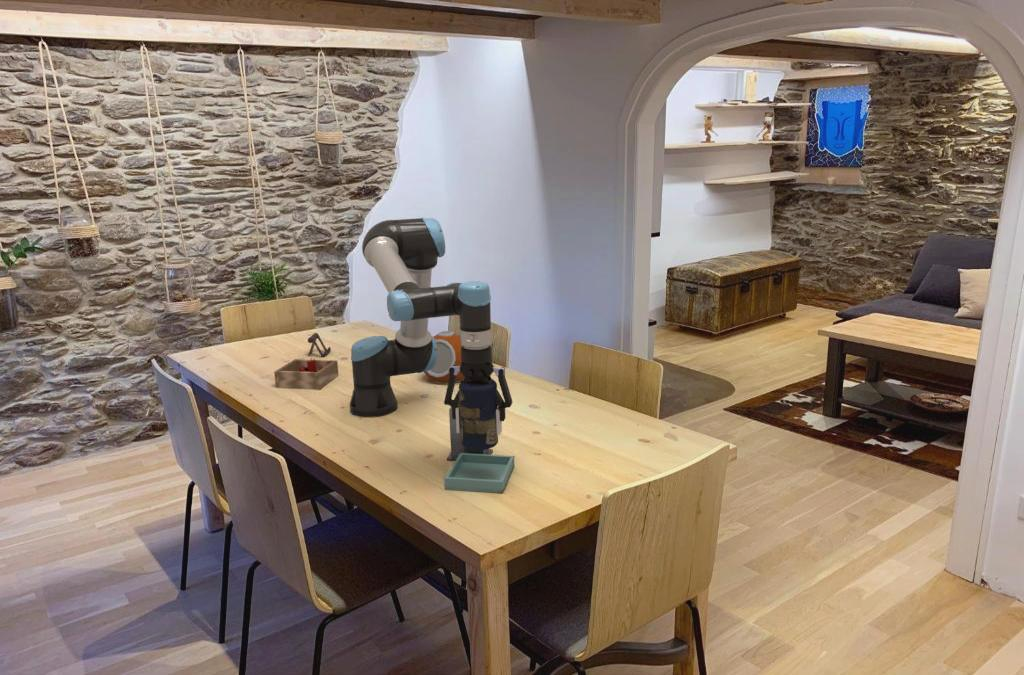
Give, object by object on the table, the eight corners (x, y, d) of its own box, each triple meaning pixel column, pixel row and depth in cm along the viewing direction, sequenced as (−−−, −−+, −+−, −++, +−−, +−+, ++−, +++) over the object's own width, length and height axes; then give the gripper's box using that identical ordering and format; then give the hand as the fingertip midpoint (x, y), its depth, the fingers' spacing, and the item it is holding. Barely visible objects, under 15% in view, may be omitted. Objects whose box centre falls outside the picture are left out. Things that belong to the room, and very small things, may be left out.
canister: (460, 439, 192) (457, 372, 187) (497, 437, 192) (495, 370, 188) (461, 454, 182) (458, 384, 178) (500, 451, 183) (498, 382, 179)
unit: (446, 460, 201) (444, 406, 197) (454, 449, 208) (452, 396, 204) (486, 463, 198) (484, 408, 195) (492, 451, 206) (491, 398, 202)
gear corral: (275, 387, 265) (274, 371, 264) (296, 374, 281) (295, 359, 279) (320, 389, 262) (318, 373, 261) (338, 376, 277) (337, 360, 276)
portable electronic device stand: (325, 357, 303) (323, 337, 301) (306, 358, 303) (304, 338, 301) (331, 351, 311) (329, 332, 309) (312, 352, 311) (310, 332, 309)
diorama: (336, 382, 271) (334, 360, 269) (302, 387, 266) (300, 364, 264) (329, 374, 280) (327, 353, 278) (297, 379, 275) (295, 357, 273)
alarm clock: (412, 383, 267) (410, 336, 263) (435, 369, 283) (433, 325, 279) (460, 388, 260) (459, 340, 256) (481, 374, 276) (480, 328, 272)
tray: (444, 489, 184) (444, 478, 183) (460, 463, 199) (460, 453, 198) (502, 493, 181) (502, 481, 180) (514, 466, 196) (514, 456, 195)
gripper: (427, 348, 180) (432, 435, 185) (518, 351, 175) (520, 439, 181) (436, 340, 187) (440, 424, 192) (523, 342, 183) (525, 428, 188)
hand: (479, 431), depth 187 cm, fingers closed on canister, 10 cm apart
